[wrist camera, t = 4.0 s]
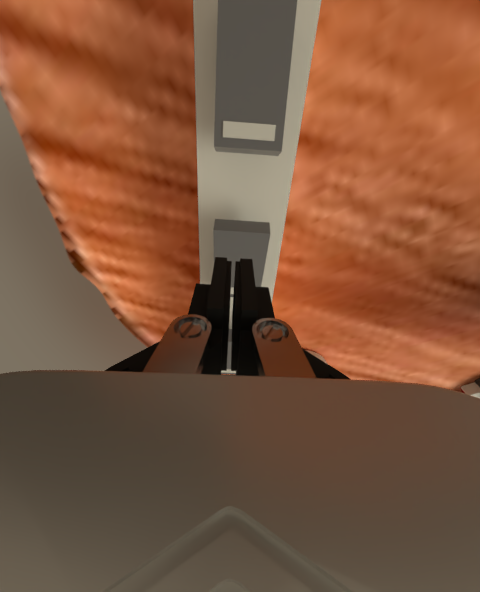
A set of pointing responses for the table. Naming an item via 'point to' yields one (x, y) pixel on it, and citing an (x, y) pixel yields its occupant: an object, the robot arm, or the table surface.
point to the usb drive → (472, 388)
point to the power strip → (237, 166)
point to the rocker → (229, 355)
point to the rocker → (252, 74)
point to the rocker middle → (242, 244)
